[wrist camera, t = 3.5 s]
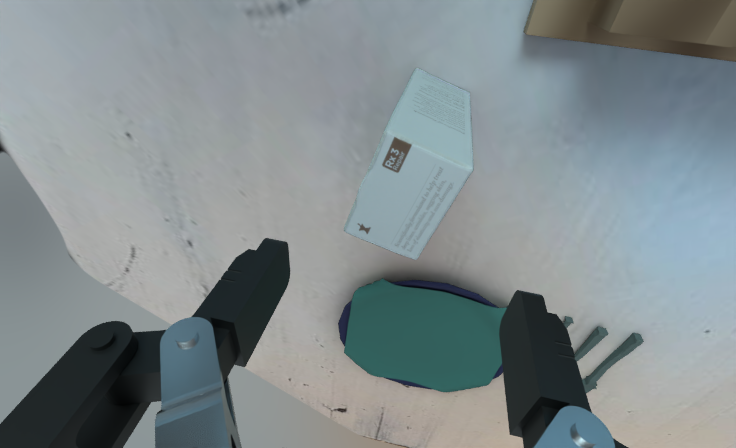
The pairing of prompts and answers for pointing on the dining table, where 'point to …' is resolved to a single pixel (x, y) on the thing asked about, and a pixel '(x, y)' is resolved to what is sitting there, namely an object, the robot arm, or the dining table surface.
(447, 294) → the cutlery set
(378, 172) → the skincare box
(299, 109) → the dining table surface
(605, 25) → the socket holder
